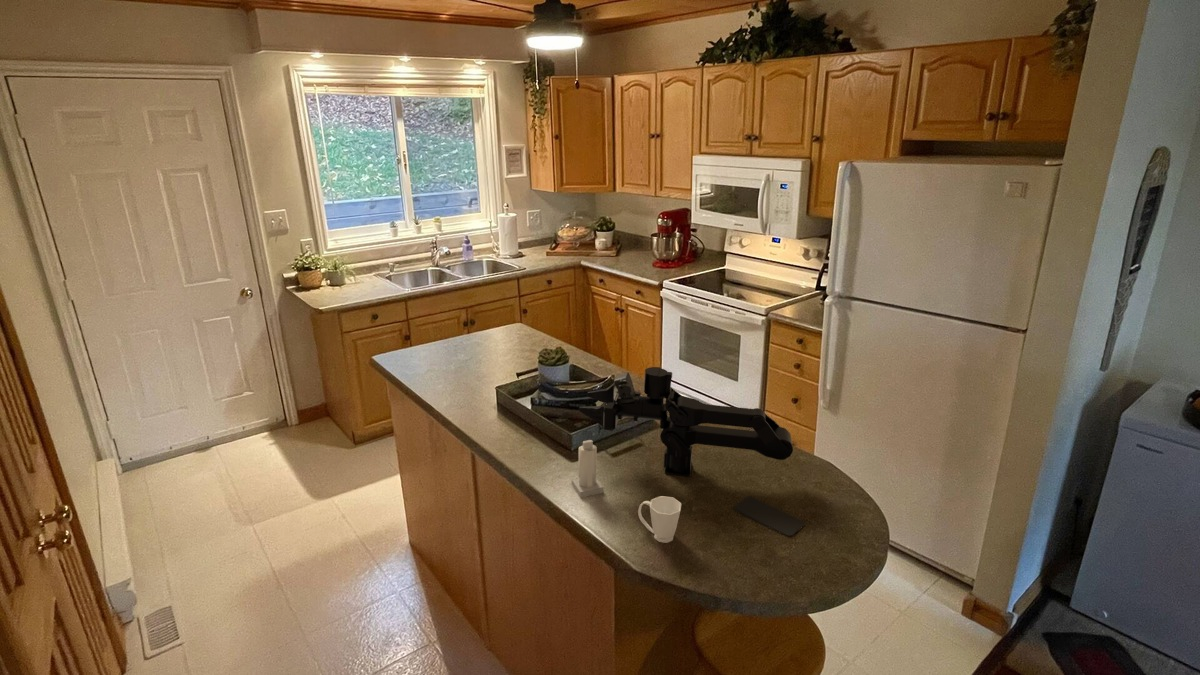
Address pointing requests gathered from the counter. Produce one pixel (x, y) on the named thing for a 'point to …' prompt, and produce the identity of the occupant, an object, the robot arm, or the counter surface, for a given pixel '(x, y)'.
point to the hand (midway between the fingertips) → (583, 401)
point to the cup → (662, 517)
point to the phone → (769, 516)
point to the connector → (587, 471)
